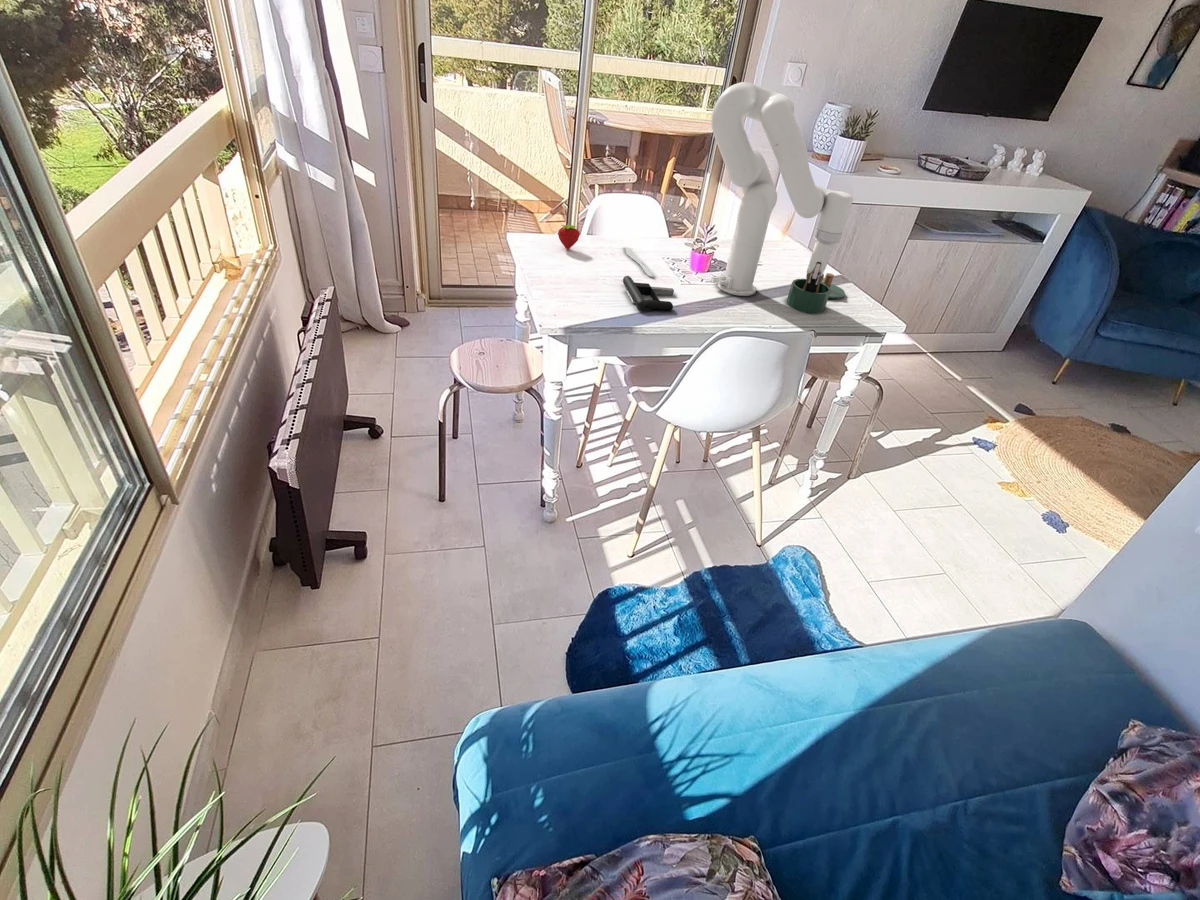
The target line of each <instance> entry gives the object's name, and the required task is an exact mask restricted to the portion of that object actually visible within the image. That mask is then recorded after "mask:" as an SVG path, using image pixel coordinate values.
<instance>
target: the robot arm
mask: <svg viewBox="0 0 1200 900" xmlns="http://www.w3.org/2000/svg"><path fill="white" fill-rule="evenodd" d="M794 113H795V106H794V103H793V100H792V99H791V98H790V97H789V96H787V95H785V94H783V93H781V92H777V91H774V90H771V89H768V88H765V87H763V86H760V85H758V84H754V83H751V82H748V81H740V82H738V83H734V84H732V85H730V86H729V87H727V88H726V89H725V90H724V91H723V92H721V94H720V96H719V97H718V99H717V100H716V102H715V104H714V106H713V109H712V113H711V120H710V121H711V130H712V134H713V136H714V139H715V142H716V144H717V147H718V150H719V152H720V156H721V158H722V160H723V163H724V166H725V169H726V171H727V174H728V177H729V180H730V181H731V182H732V184H733V185H735V186H736V187H738V188H741V190H742V193H743V196H742V199H741V201H740V204H739V206H738V212H737V219H736V222H735V223H736V224H735V229H734V233H733V237H732V242H731V247H730V251H729V255H728V259H727V264H726V268H725V272H721V275H719V276H711V277H710V283H711V284H717V288H718V289H720V290H721V291H722V292H725V293H727V294H729V295H734V296H738V297H750V296H753V295H755V294H756V291H757V287H756V285H755V284H754V281H755V277H756V273H757V269H758V266H759V262H760V258H761V254H762V251H763V246H764V242H765V238H766V235H767V232H768V231H767V230H768V227H769V223H770V219H771V215H772V212H773V211H774V209H775V206H776V204H777V201H778V193H777V189H776V186H775V183H774V180H773V178H772V175H771V173H770V169H769V167H768V164H767V162H766V160H765V158H764V156H763V154H762V153H761V152H760V151H759V150H757V149H755V148H752V146H751V143H750V141H749V138H748V134H747V133H746V130H745V128H744V126H743V123H742V119H743V117H746V118H749V119H752V120H754V121H757V122H759V123H761V125H762V129H763V131H764V133H765V136H766V138H767V140H768V142H769V146H770V147H771V150H772V152H773V154H774V157H775V159H776V162H777V165H778V168H779V172H780V174H781V177H782V181H783V183H784V186H785V189H786V191H787V194H788V197H789V199H790V201H791V203H792V207H793V208H794V211H795V212H796V214H797V215H798V216H800V217H801V218H803V219H812V218H815V217H816V216H818V215H819V213H820V216H819V219H818V223H817V226H816V229H815V232H814V236H813V240H815V243H814V246H813V249H812V252H811V256H810V259H809V263H808V266H807V268H806V275H807V274H808V273H811V275H810V278H809V282H807V285H806V289H805V291H809V292H814V293H815V292H816V289H817V286H818V285H817V283H818V280H819V277H820V276H822V275H823V274H824V273H825V270H826V268H827V266H828V263H829V260H830V258H831V255H832V253H833V249H834V247H835V245H839V244H840V241H841V238H842V235H843V233H844V230H845V226H846V223H847V220H848V217H849V214H850V210H851V208H852V204H853V200H854V197H853V195H852V194H850V193H848V192H846V191H841V190H832V189H829V188H826V187H823V186H820V185H817V184H816V183H815V182H814V181H815V180H814V178H813V176H812V173H811V169H810V164H809V153H808V147H807V144H806V142H805V139H804V137H803V134H802V132H801V130H800V128H799V125H798V123H797V119H796V117H795V115H794ZM813 272H814V274H813ZM819 272H820V273H819ZM818 273H819V275H818ZM812 276H813V277H812ZM817 277H818V278H817Z"/></svg>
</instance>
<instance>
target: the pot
mask: <svg viewBox="0 0 1200 900" xmlns="http://www.w3.org/2000/svg"><path fill="white" fill-rule="evenodd" d="M806 281H807V278H796V279H793V280H792V281H791V284H790V288H789V290H788V294H787V298H786V304H787V305H788V306H789V307H790V308H792V309H794V310H796V311H799V312H802V313H807V314H821V313H823V312H824V311H825V309H826V306H827V303H828V300H829V299H830V298H829V295H830V292H831V289H830V287H829V286H827V285H825V284H823V283H821V282H822V281H821V282H820V285H819V291H818V293H814V292H809V291H805V290H803V287H804V285H805V283H806Z"/></svg>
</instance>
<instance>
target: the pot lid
mask: <svg viewBox="0 0 1200 900" xmlns="http://www.w3.org/2000/svg"><path fill="white" fill-rule="evenodd" d="M834 277H835V275H834V273H830V272H827V273H825V275H824V278H823V281H821V283H823V284H825V285H827V286H829V287H830V289H831V292H830V295H829V298H828V299H842V298H843V297H845V295H846V292H845V290H844V289H843V288H842V287H840V286H838V285H835V284H833V280H834Z"/></svg>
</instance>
